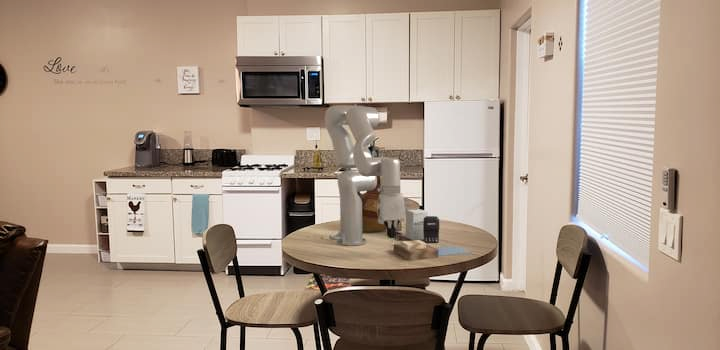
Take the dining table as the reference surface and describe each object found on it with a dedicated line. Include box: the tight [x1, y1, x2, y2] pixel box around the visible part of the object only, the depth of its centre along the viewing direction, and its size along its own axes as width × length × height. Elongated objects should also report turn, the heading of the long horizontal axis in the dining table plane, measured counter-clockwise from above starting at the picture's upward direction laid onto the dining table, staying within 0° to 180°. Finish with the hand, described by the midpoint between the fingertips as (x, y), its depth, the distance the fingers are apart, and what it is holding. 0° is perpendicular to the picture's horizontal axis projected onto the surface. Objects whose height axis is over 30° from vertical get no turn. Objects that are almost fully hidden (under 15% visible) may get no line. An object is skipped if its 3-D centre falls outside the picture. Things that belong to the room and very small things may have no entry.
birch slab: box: [400, 239, 427, 250], centre depth 217 cm, size 8×6×2 cm
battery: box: [422, 215, 440, 244], centre depth 238 cm, size 7×4×11 cm, turn 87°
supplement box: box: [405, 208, 428, 241], centre depth 246 cm, size 7×7×13 cm
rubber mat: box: [434, 245, 472, 257], centre depth 223 cm, size 16×12×1 cm
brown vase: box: [357, 176, 387, 233], centre depth 263 cm, size 20×20×30 cm
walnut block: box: [393, 243, 439, 262], centre depth 217 cm, size 12×15×3 cm
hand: (391, 237), depth 212 cm, fingers closed
